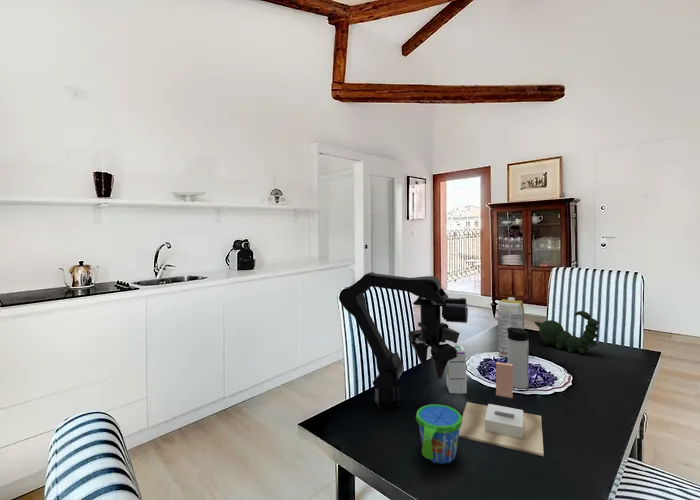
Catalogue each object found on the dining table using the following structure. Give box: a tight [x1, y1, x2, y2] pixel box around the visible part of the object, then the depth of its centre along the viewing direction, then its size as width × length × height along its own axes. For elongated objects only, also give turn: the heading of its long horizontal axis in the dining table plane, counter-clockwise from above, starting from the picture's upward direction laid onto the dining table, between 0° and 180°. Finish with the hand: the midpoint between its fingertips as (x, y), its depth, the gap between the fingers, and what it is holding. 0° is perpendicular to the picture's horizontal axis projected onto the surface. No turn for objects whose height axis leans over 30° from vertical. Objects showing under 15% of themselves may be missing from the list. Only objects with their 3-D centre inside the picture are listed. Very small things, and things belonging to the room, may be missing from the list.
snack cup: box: [415, 403, 463, 465], centre depth 85 cm, size 16×10×10 cm
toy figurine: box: [533, 310, 600, 354], centre depth 151 cm, size 9×19×25 cm
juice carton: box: [497, 297, 525, 358], centre depth 144 cm, size 9×8×24 cm
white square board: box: [485, 403, 524, 439], centre depth 96 cm, size 9×9×3 cm
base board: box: [458, 401, 545, 457], centre depth 96 cm, size 20×18×1 cm
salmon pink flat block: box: [495, 361, 514, 399], centre depth 95 cm, size 4×1×9 cm, turn 63°
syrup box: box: [445, 344, 468, 395], centre depth 118 cm, size 6×6×14 cm
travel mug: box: [507, 328, 529, 390], centre depth 118 cm, size 6×7×20 cm
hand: (431, 371), depth 105 cm, fingers open, 9 cm apart
